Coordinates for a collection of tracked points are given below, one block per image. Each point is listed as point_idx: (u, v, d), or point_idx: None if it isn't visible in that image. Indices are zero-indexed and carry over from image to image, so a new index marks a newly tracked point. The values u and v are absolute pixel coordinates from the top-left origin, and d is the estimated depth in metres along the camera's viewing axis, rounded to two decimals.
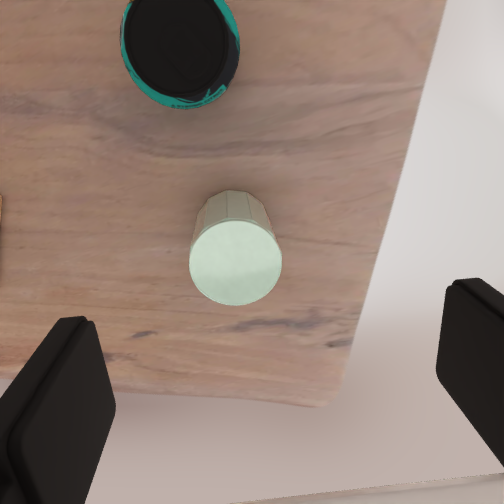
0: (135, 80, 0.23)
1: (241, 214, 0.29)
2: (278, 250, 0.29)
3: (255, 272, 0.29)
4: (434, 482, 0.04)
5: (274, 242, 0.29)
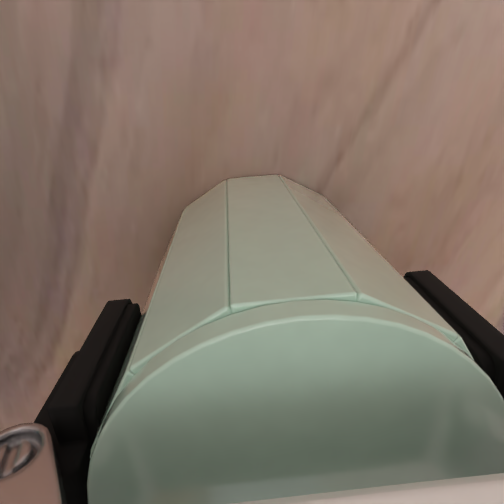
0: None
1: (127, 359, 0.07)
2: (323, 322, 0.05)
3: (381, 443, 0.06)
4: (434, 482, 0.04)
5: (269, 330, 0.05)
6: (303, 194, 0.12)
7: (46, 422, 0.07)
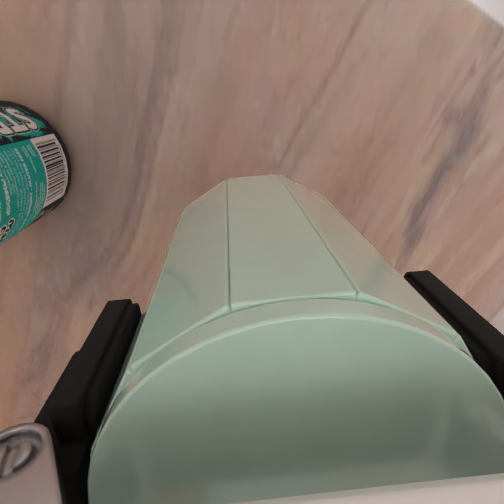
0: None
1: (127, 357, 0.07)
2: (323, 321, 0.05)
3: (381, 442, 0.06)
4: (434, 482, 0.04)
5: (269, 328, 0.05)
6: (303, 194, 0.12)
7: (46, 422, 0.07)
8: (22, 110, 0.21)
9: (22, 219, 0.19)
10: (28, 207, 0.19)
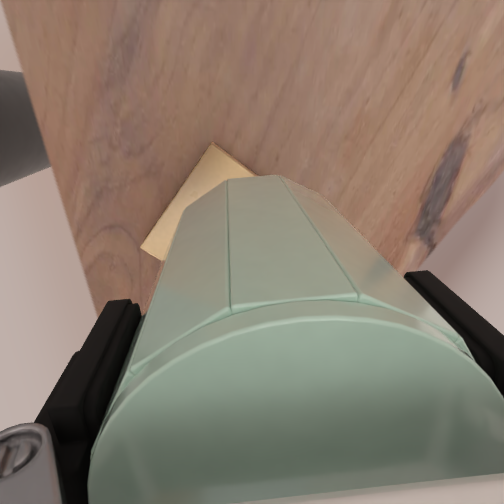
0: None
1: (127, 359, 0.07)
2: (324, 323, 0.05)
3: (382, 444, 0.06)
4: (434, 482, 0.04)
5: (270, 330, 0.05)
6: (303, 194, 0.12)
7: (46, 422, 0.07)
8: None
9: None
10: None
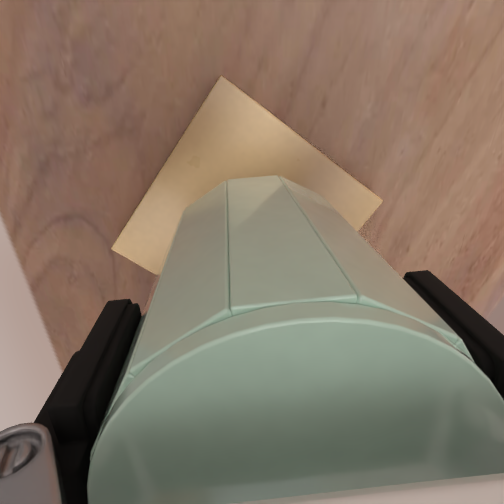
0: None
1: (127, 360, 0.07)
2: (324, 325, 0.05)
3: (382, 446, 0.06)
4: (434, 482, 0.04)
5: (269, 332, 0.05)
6: (303, 195, 0.12)
7: (46, 422, 0.07)
8: None
9: None
10: None
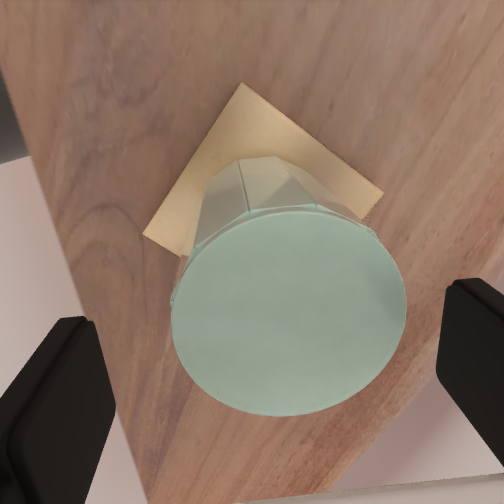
0: None
1: (187, 253, 0.12)
2: (297, 215, 0.10)
3: (331, 289, 0.11)
4: (434, 482, 0.04)
5: (270, 218, 0.10)
6: (293, 168, 0.17)
7: None
8: None
9: None
10: None
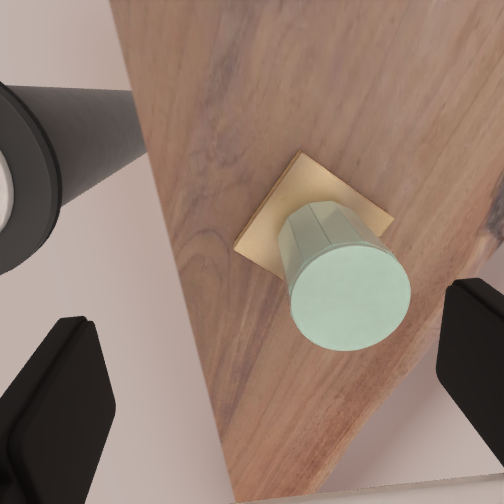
0: None
1: (295, 265, 0.23)
2: (355, 247, 0.21)
3: (371, 283, 0.22)
4: (434, 482, 0.04)
5: (342, 249, 0.21)
6: (344, 210, 0.28)
7: None
8: None
9: None
10: None
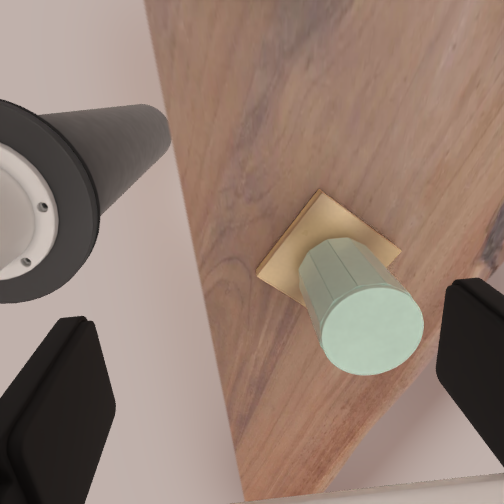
0: None
1: (324, 301, 0.27)
2: (379, 289, 0.25)
3: (391, 318, 0.26)
4: (434, 482, 0.04)
5: (368, 290, 0.25)
6: (360, 248, 0.32)
7: None
8: None
9: None
10: None
